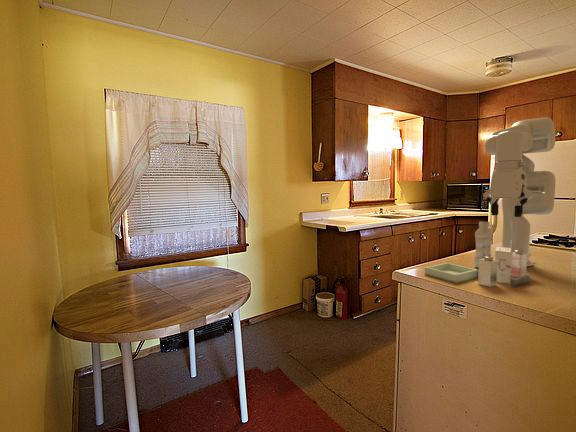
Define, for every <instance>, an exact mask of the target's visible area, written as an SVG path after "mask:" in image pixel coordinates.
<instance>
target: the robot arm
mask: <svg viewBox="0 0 576 432" xmlns="http://www.w3.org/2000/svg"><path fill="white" fill-rule="evenodd" d="M555 145H556V128H555V123H554V121H553V119H552V118H550V117H545V116H544V117H539V118H530V119H524V120H519V121H517V122H514V123H513V124H512V125H511V127H507V128H504V129H500V130H498V131H495V132H492V133H491V134H489V135H488V137H487V139H486V140H485V143H484V148H485V149H484V150H485V152H486V153H487V154H488V155H490V156H495V170H494V171H493V172H492V175H491V179H490V184H489V185H490V186H489V187H490V188H488V189H487V190H486V191H485V192H484V193H483V194H482V196H483V197H484V198H485V199H486V201H487V202H488V203H489V205H490V213H491V216H497V215H499V204H498V202H499V200H500V199H501V209H502V216H503V218H502V241H501V242H502V243H501V247H504V248H511V245H510V243H511V240H512V252H514V250H521V251H523V253H526V254H527V267H532V266H534V263H533V261H531V260H529V259H530V258H531V257H532V253H531V252H530V240H531V239H530V235H531V224H530V221H529V220H528V219H527V218H526V217H525V216H524V215H538V216H539V215H545V216H546V215H549V214H551V213H552V212H553V211H554V207H555V196H556V195H555V194H556V176H555V173H553V172H552V171H549V170H535V166H536V165H535V163H534V161H533V160H532V159H530V157H528V156H526V155H524V154H536V153H537V154H538V153H547V152H550V151H552V150H553V149H554V147H555Z"/></svg>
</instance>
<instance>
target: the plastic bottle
mask: <svg viewBox="0 0 576 432" xmlns="http://www.w3.org/2000/svg"><path fill="white" fill-rule="evenodd" d="M493 236H494V234H493V232H492V230H491V229H490V221H483V220H482V221H479V223H478V228H477V230H475V232H474V238H475V253H474V258H473V264H474V267H475V268H477V269H479V259H483V258H484V256H490V257H492V256H491V255H492V254H491V253H492V252H491V251H492V250H491V247H492V241H493Z"/></svg>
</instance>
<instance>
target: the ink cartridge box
mask: <svg viewBox="0 0 576 432" xmlns="http://www.w3.org/2000/svg"><path fill="white" fill-rule="evenodd" d="M510 245H511V248H504V247H502V246H496V247H495V251H494V260H498V261H497V283H501V284H508V285H511V279H512V278H511V277H512V276H511V265H512V240H511V243H510Z"/></svg>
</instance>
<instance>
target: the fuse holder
mask: <svg viewBox="0 0 576 432" xmlns="http://www.w3.org/2000/svg"><path fill="white" fill-rule="evenodd" d="M497 261H498V260H495V259H494V257H493V256H491V257H490V256H484V258H483V259H479V268H478V277H477V279H478V280H477V285H480V286H483V287H484V286H485V287H487V288H492V287H496V286H497V284H498V282H497ZM527 267H528V266H527V254H526V253H523V251H521V250H514V252H512V265H511V277H514V278H511V281H510V287H512V288H516V287H519V286H522V285H526V284H530V280H531V279H530V278H531V276H530V275H528V274H527Z"/></svg>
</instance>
